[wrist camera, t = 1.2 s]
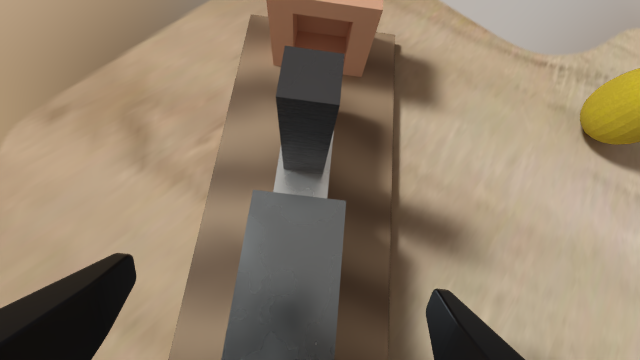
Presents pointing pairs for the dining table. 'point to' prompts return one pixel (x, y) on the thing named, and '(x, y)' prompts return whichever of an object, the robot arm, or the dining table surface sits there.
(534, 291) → the dining table surface
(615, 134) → the lemon
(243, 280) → the sleeve
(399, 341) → the dining table surface
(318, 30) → the socket block
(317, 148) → the tube
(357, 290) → the base board
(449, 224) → the dining table surface
